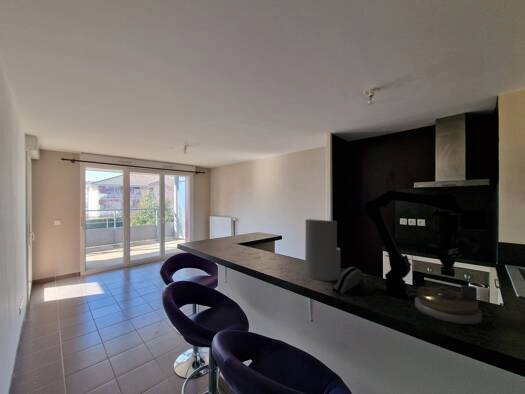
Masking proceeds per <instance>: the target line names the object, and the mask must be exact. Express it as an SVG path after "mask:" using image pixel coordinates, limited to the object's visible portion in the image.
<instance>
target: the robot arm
mask: <svg viewBox="0 0 525 394" xmlns="http://www.w3.org/2000/svg"><path fill="white" fill-rule="evenodd" d="M393 201H398V202H405V203H413V204H414V203H415V204H421V205H426V206H430V207H434V208H438V209H436V210H435V211H434V212H433V213H431V216H432V217H437V224H438V225H437V230H435V235H437V236H438V238H437V240H438V241H436V242H435V244H433V243H432V244H429V243H428V244H425V245H424V246H423V252H424V253H426V254H431V255H436V256H437V258H438V260H439V261H440V264H441V265H442V267H443V268H444V271H445V272H446V273H448V274H451V273H452V270H453V269H454V266H455V263H456V261H457V259H458V258H459V257H461V256H463V255H464V253H461V252H459V251H463V252H465V253H467V254H474V253H475V254H477V252H478V251H479V249H481V248H482V243H481V241H480V239H479V238H477V237H475V236H474V237H471V238H468V237H467V238H466V237H464V236H463V233H462V232H461V231H459V218H460V227H461V228H464V230H466V231H481V232H487V231H488V221H487V215H486V214H487V212H486V210H464V208H463V207H462V206H460V204H459V200H458V198H457V197H456V196H455V195H453V194H450V193H438V194H437V193H436V194H422V193H413V192H405V191H396V190H387V191H386V192H384V193H383V194H382V195H380V196H378V197H376V198H375V199H373V200H369V201H367V202H366V203H365V204H364V210H365V212H366V214H367V215H368V217H369V218H370V220H372V222H373V223H374V225H375V227H376V230H377V231H378V235H379V236H380V238H381V241H382V243H383V245H384V248H385V249H386V252H387V255H388V262H389V267H390V270H388V271H387V273H385V274H384V276H385V290H383V293H384V294H386V295H388V296H391V297H393V298H395V299H396V298H397V299H400V298H405V297H409V294H407V284H406V280H405V279H404V278H406V277H407V276H408V274H410V272H411V271H412V269H411V266H412V264H411V262H410V261H409V258H408V255H403V254H402V253H401V252H400V249H399V248H398V246H397V242H396V241H395V238H394V237H393V234H392V231H391V229H390V227H389V225H388V223H387V220H386V215H385V210H384V208H385V207H387V206H388V205H389V204H391V203H392V202H393ZM439 209H441V210H444V211H440V210H439ZM451 211H452V212H454V213H456V214H451Z"/></svg>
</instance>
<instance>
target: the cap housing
mask: <svg viewBox="0 0 525 394" xmlns="http://www.w3.org/2000/svg"><path fill="white" fill-rule="evenodd" d="M414 307H415V308H416V309H417V310H418V311H419V312H421V313H423V314H425V315H426V316H429V317H432V318H435V319H437V320H440V321H441V320H442V321H444V322H449V323H453V324H461V325H478V324H480V323H482V322H483V312H482V310H481V309H479V308H478V312H477V313H476V314H474V315H458V314H451V313H446V312H442V311H439V310H435V309H433V308H430V307H428V306H426V305H424V304H422V303H421V302H419V300H418V295H417V296H415V298H414Z"/></svg>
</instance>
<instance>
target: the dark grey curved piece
mask: <svg viewBox="0 0 525 394" xmlns="http://www.w3.org/2000/svg"><path fill="white" fill-rule="evenodd" d="M362 273H363V271H362V270H361V269H359V268H357V267H355V266H349V267H347V268H346V269H344V270H343V271H342V272H340V277H339V279H338V280H337V282H336V284H334V285H333V286H332V287H331V291H335V290H336V291H339V293H340V294H344V293H346V292H347V291H349V290H351V289H352V288H354V287H355V286H357V285H358V284H359V283H360V279H361V276H362Z"/></svg>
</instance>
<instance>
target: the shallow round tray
mask: <svg viewBox="0 0 525 394" xmlns="http://www.w3.org/2000/svg"><path fill="white" fill-rule="evenodd" d="M477 292H478V289H477V287H476V286H471V285H465V284H461V285H460V291H458V290H453V289H448V288H447V287H445V286H438V287H433V286H429V287H428V286H423V285H422V286H419V287H418V290H417V296H418V300H419V302H421V303H422V304H424V305H426V306H428V307H430V308H433V309H435V310H439V311H442V312H446V313H451V314H458V315H474V314H476V313H477V312H478V309H479V308H478V296H477V295H478V293H477Z"/></svg>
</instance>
